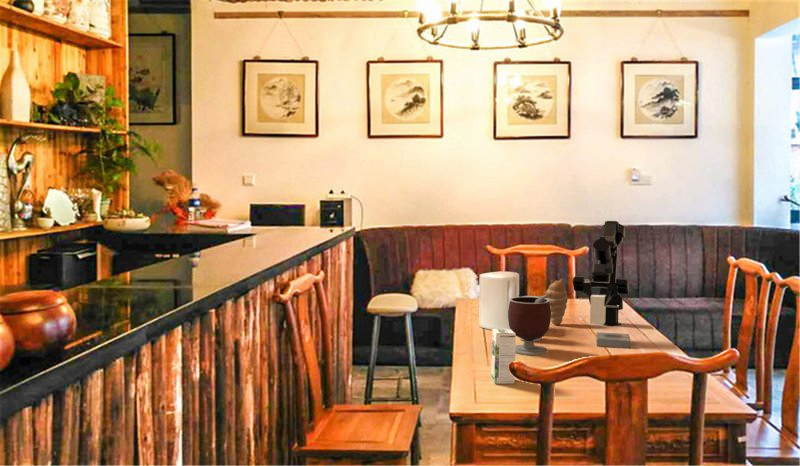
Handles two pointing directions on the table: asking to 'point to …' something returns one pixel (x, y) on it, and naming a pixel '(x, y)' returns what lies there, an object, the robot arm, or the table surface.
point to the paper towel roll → (496, 298)
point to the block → (597, 309)
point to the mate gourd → (529, 322)
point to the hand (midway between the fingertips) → (597, 304)
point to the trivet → (613, 340)
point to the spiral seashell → (557, 300)
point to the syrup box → (502, 355)
